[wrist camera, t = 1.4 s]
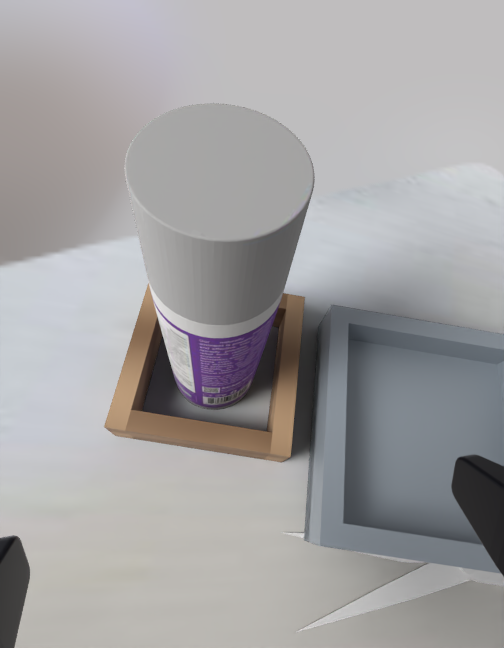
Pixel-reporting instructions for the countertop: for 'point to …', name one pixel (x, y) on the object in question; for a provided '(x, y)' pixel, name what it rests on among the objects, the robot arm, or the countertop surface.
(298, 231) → the container
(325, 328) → the tray
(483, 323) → the countertop surface
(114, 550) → the countertop surface
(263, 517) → the countertop surface
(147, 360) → the holder
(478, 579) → the scissors
